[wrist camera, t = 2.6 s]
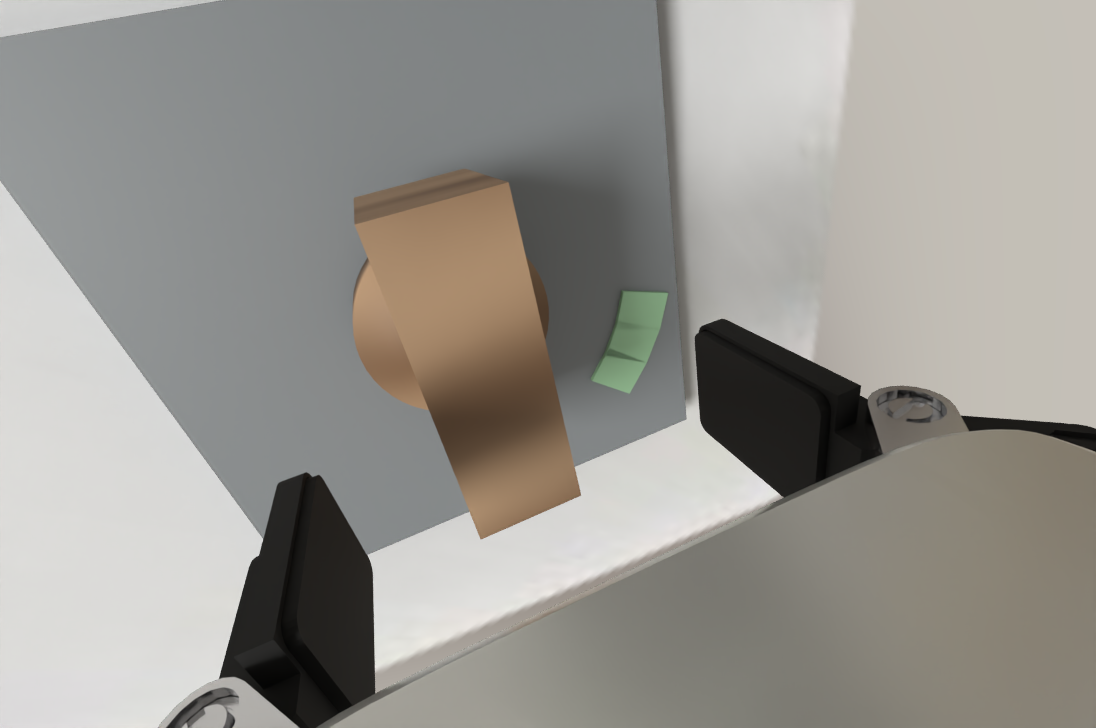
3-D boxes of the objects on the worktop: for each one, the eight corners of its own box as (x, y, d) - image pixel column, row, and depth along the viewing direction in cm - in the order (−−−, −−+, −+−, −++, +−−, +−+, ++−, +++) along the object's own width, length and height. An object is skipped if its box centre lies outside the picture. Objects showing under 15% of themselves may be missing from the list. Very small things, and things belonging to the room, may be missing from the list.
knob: (299, 204, 16) (268, 248, 10) (499, 152, 17) (578, 163, 11) (441, 519, 23) (472, 653, 17) (572, 464, 25) (642, 569, 19)
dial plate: (-51, 60, 13) (-101, 51, 12) (629, -57, 18) (654, -74, 16) (299, 560, 23) (296, 588, 22) (671, 406, 28) (688, 421, 26)
